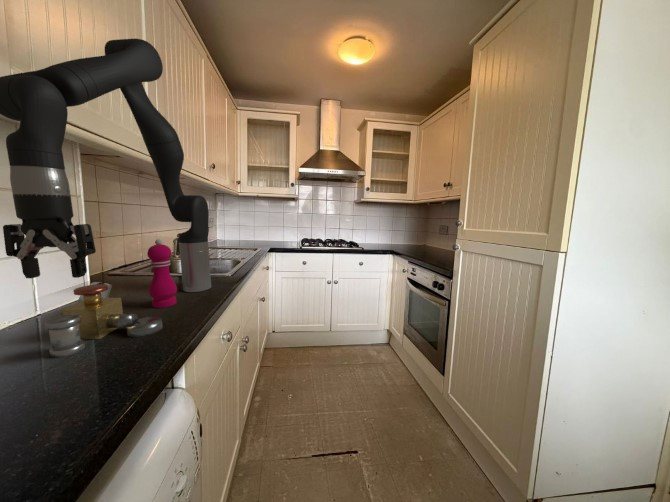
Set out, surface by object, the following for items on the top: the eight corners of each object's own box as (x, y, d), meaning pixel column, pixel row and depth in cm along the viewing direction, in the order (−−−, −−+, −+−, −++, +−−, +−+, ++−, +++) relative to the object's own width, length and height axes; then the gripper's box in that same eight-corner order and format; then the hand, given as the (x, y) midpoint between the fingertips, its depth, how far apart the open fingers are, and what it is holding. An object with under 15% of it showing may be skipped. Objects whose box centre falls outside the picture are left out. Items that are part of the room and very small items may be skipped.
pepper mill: (173, 298, 89) (167, 237, 85) (182, 304, 84) (176, 239, 81) (147, 304, 83) (140, 239, 80) (155, 310, 79) (147, 241, 75)
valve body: (95, 324, 69) (89, 283, 67) (169, 322, 70) (165, 282, 69) (66, 339, 61) (59, 293, 60) (150, 337, 62) (145, 292, 61)
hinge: (84, 307, 81) (95, 275, 81) (104, 310, 83) (114, 278, 83) (60, 330, 66) (73, 290, 66) (86, 332, 68) (98, 294, 68)
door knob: (66, 345, 59) (61, 314, 58) (91, 344, 59) (87, 313, 58) (42, 358, 54) (36, 324, 53) (70, 357, 54) (64, 324, 53)
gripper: (98, 194, 56) (108, 272, 58) (23, 194, 55) (36, 273, 57) (65, 192, 48) (78, 281, 51) (-23, 192, 47) (-5, 282, 50)
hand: (56, 277), depth 54 cm, fingers open, 8 cm apart
